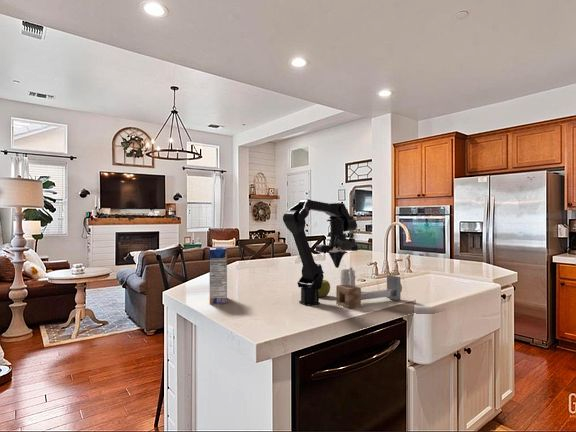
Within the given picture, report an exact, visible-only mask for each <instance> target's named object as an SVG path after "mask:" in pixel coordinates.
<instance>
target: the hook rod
mask: <svg viewBox="0 0 576 432" xmlns="http://www.w3.org/2000/svg"><path fill="white" fill-rule="evenodd" d="M402 290H403V286H402V283H401V276H398V275H391V274H388V275H386V289H382V290H380V289H379V290H373V291H372V290H371V291H363V292H362V291H361V301H366V300H371V299H373V300H374V299H382V298H387V299H391V300H393V301H401V300H402V299H401V298H402V297H401V295H402V294H401V293H402Z"/></svg>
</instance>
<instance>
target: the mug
mask: <svg viewBox="0 0 576 432" xmlns="http://www.w3.org/2000/svg"><path fill="white" fill-rule="evenodd" d="M355 272H356V271H355V269H353V267H351V266H350V267H349V268H348V269H346V268H345V269H343V268H342V269H340V285H347V284H349V285H353V286H356V275H355Z"/></svg>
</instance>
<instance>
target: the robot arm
mask: <svg viewBox="0 0 576 432" xmlns="http://www.w3.org/2000/svg"><path fill="white" fill-rule="evenodd" d="M310 211H316V212H322V213H324V214H326V215H328V216H329V218H327V219H326V221H327V222H330V223H329V224H330V229H329V230H330V233H328V237H329V238H330V242H329V243H328V244H316V246H315V252H318V253H327V254H329V256H330V258H331V260H332V262H333V265H334V267H335V268H337V269H338V268H339V267H340V264H341V262H342V260H343V257H344V256H345V254H348V251H347V250H349V251H352V252H353V251H354V252H355V251H359V246H358V244H357V243H356V239H355V238H354V237H351V238H347V236H346V234H345V233H344V232H355V231H356V230H357V227H358V224H357V221H356V219H354V216H351V215H350V213H349V211H348V209H347V206H346V205H345V203H343V202H335V203H334V202H332V203H330V202H329V203H328V202H323V201H317V200H313V199H310V198H308V199H301V200H299V202H297V204H295V205H293V206H292V207H290V208H289V209H288V210H286V211H285V212H284V213H283V216H282V221H283V223H284V225H285V227H286V228H287V230H288V231H289V232H290V233H291V234H292V237H293V240H294V243H295V245H296V249H297V252H298V254H299V255H298V256H299V257H300V261H301V265H302V269H301V276H300V278H299V280H298V281H297V286H298V288H300V300H298V301H299V303H300V304H302V305H304V306H313V305H320V304H321V302H320V297H319V291H318V289H321V286H322V282H323V280H324V278H325V277H324V274H325V272H324V271H323V267H322V264H321V263H316V262H315V260H314V256H313V253H312V250H311V247H310V245H309V244H310V243H309V241H308V238H307V234H306V232H305V231H306V230H305V228H306V223H307V222H306V218H307V217H308V216H309V214H310Z"/></svg>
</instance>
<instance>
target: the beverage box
mask: <svg viewBox="0 0 576 432" xmlns="http://www.w3.org/2000/svg"><path fill="white" fill-rule="evenodd" d="M227 289H228V249H227V247H226V246H221V247H220V246H218V247H217V246H214V247H213V246H211V247H209V305H216V304H217V305H219V304H220V305H221V304H227V303H228V290H227Z"/></svg>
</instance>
